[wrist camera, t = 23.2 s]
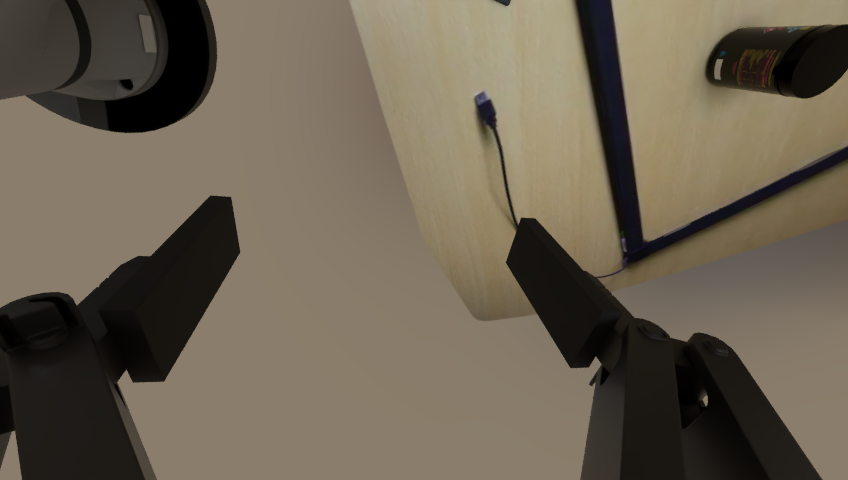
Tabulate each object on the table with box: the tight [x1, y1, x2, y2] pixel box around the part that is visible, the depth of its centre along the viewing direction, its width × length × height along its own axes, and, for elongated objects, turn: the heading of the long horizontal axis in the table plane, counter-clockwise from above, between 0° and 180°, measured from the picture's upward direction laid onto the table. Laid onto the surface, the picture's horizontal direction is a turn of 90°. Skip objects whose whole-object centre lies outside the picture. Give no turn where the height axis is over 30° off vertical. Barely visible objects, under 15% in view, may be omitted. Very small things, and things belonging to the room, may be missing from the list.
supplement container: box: [708, 24, 848, 98], centre depth 38 cm, size 7×7×10 cm
